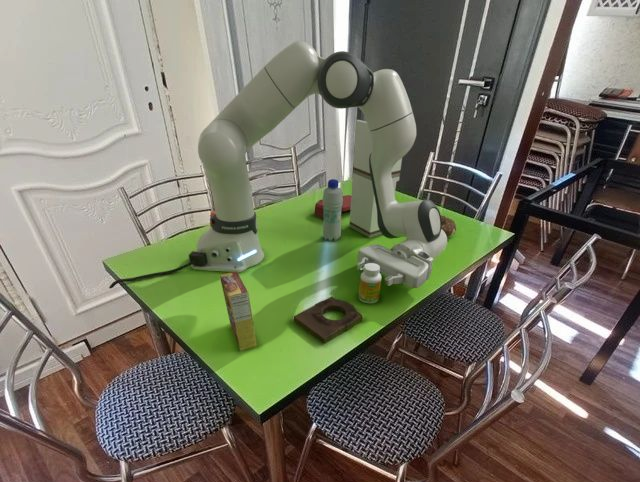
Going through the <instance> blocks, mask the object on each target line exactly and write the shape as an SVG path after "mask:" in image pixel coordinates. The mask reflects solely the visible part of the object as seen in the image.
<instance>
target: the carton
mask: <svg viewBox="0 0 640 482" xmlns="http://www.w3.org/2000/svg"><path fill="white" fill-rule="evenodd" d="M314 204H315V205H314V211H313V216H315V217H318V218H319V219H320V218H321V219H322V220H324V206H323V198H322V199H319V200H318V201H316V202H315V203H314ZM347 211H351V194H346V195H343V205H342V208H341V213H342V212H347Z"/></svg>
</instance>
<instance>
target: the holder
mask: <svg viewBox="0 0 640 482" xmlns="http://www.w3.org/2000/svg"><path fill="white" fill-rule="evenodd" d="M328 312H339V313H341V314H343V315H344V317H342V318H339V319H330V318H326V316H324V314H326V313H328ZM363 316H364V315H363V314H362V313H361V312H359V311H358V310H357V308H356V307H355V306H354V305H353V304H351V303H350V302H349V301H345V300H342V299H338V298H336V297H334V296H332V295H331V296H330V297H327V298H326V299H324V300H321V301H319V302H317V303H315V304H314V305H312V306H310V307H308V308H307V309H304V310H303V311H301V312H299V313H297V314H295V315H293V323H295V324H296V325H297V326H298V327H300V328H302V329H303V330H304V331H305V332H307V333H308V334H309V335H311V336H312V337H313V338H315V339H316V340H317V341H319V342H320V343H321V344H323V345H325V344H327V343H328V342H330V341H332V340H333V339H335V338H336V337H338V336H340V335H341V334H343V333H344V332H347V331H349V330H351V329H352V328H354V327H355V326H356V325H358V324H359V323H361V322H362V321H363Z"/></svg>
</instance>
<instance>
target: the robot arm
mask: <svg viewBox="0 0 640 482" xmlns="http://www.w3.org/2000/svg"><path fill="white" fill-rule="evenodd" d="M313 95H319V96H320V97H322V99H323V101H324V102H325V103H326V104H327V105H328V106H330V107H332V108H334V109H339V110H341V109H342V110H343V109H349V108H350V109H351V108H359V109H360V111H361V112H362V114H363V116H364V118H365V122H367V124H368V128H369V131H370V135H371V140H372V152H371V153H370V156H369V169H370V175H371V181H372V186H373V191H374V196H375V202H376V207H377V223H378V227H379V230H380V231H381V233H382V234H381V235H383V236H384V237H385V238H386V239H389V240H392V239H399V238H405V239H404V240H402V241H399V242H398V243H396V244H395V245H393V246H392V247H391V248H388V247H386V246H384V245H382V244H377V243H374V244H370V245H366V246H363V247H361V248H359V249H358V251H357V261H358V263H357V265H356V270H357V271H359V272H364V266H365V265H366V264H368V263H375V264H377V265H379V266H380V272H379V273H380V274H383V275H384V276H386V277H385V278H384V282H383V284H384V285H387V286H388V287H390V286H392V285H401V284H403V285H404V286H407V287H409V288H411V289H417V288H419V287H422V286H423V285H424V284H425V283H426V282H427V281H428V280H430V277H431V274H432V270H433V264H434V260H436V259H437V258H438V257H439V256H441V255H442V254H443V252H444V251H445V250H446V248H447V245H448V238H447V236H446V234H445V232H444V231H443V230H442V229H441V227H442V220H441V215H442V214H441V211H440V210H439V208H438V206H437V204H435V203H434V202H433V201H432V200H430V199H420V200H419V199H418V200H412V201H407V202H406V201H405V202H398V201H397V200H396V196H394V189H393V183H392V177H391V172H392V168H393V166H394V165H395V163H396V162H398V161H399V160H400V159H401V158H402V159H403V157H405V156H406V155H407V154H408V153H409V151H410V150H411V149H412V148H413V146H414V144H415V141H416V139H417V124H416V120H415V116H414V112H413V107H412V105H411V102H410V98H409V96H408V93H407V90H406V87H405V86H404V83H403V81H402V79H401V77H400V75H399V74H398V72H397V71H395V70H394V69H390V68H382V69H379V70H377V71H374V72H373V70H371V69H370V68H369V67H368V66H367V65H366V64H365V63H364V62H363V61H362V60H361V59H360V58H359V57H357V56H356V54H353V53H351V52H350V51H345V50H341V51H340V50H339V51H336V52H334V53H332V54H330V55H329V56H327V57H322V56H320V55H319V54H318V53H317V51H316V50H315V48H314V47H313V46H312V45H311V44H310V43H308V42H306V41H303V40H295V41H293V42H292V43H290V44H289V45H287V46H286V47H284V48H283V49H282V50H280V51H279V52H278V53H277V54H275V55H274V57H272V58H271V59H270V60H269V61H268V62H267V63H266V64H265V65H264V66H263V67H262V68H261V69H260V70H259V71H258V72H257V73H256V74H255V75H254V77H252V78H251V80H249V82H248V83H246V85H245V86H244V87H243V88H242V89H241V90H240V91H239V92H238V93H237V94H236V95H235V96H234V98H233V99H231V101H230V102H229V103H228V104H227V105H226V106H225V107H224V108H223V109H222V110H221V111H220V112H219V113H218V114H217V115H216V116H215V118H213V120H211V121H210V123H209V124H207V126H205V128H204V129H203V130H202V131H201V133H200V134H199V137H198V142H197V154H198V157H199V160H200V162H201V164H202V165H203V169H204V173H205V175H206V178H207V180H208V181H207V182H208V184H209V187H210V191H211V195H212V201H213V205H214V206H213V207H214V210H212V211H211V212H210V215H209V217H210V218H209V226H210V228H208V229H207V230H206V231H205V232H204V233H202V234H201V235H200V236H199V238H198V240H197V243H196V247H195V249H194V250H193V251H191V252H190V253H189V254H188V259H189V262H187V263H186V264H183V265H181V266H179V267H176V268H174V269H170V270H165V271H159V272H158V271H157V272H153V273H148V274H143V275H139V276H134V277H129V278H119V279H117V280H114V281H113V282H112V283H111V284H110V285H109V286H108V288H109V289H114V287H116V285H118V284H120V283H128V282H135V281H139V280H142V279H147V278H152V277H159V276H164V275H169V274H174V273H176V272H179V271H181V270H184V269H186V268H188V267H191V268H192V270H196V271H210V272H223V273H232V272H238V273H242V272H244V271H245V270H247V269H248V268H251V267H254V266H256V265H258V264H260V263H261V262H262V261H263V260H264V258H265V253H264V251H263V248H262V246H261V243H260V239H259V235H258V230H259V227H258V217H257V214H256V211H255V208H254V197H253V188H252V185H251V181H250V176H249V171H248V166H247V159H246V158H247V157H246V154H247V152H248V151H249V150H250V149H251V148H252V147H254V145H256V144H257V143H258V142H259V141H261V139H263V138H264V137H265V136H267V135H268V134H269V133H271V132H272V131H274V129H275V128H277V127H278V126H279V124H281V123H282V122H283V121H284V120H285V119H286V118H287V117H288V116H289V115H290V114H291V113H292V112H293V111H294V110H295V109H296V108H298V106H300V105H301V104H302V103H303V101H305V100H306V99H307V98H309V97H310V96H313Z"/></svg>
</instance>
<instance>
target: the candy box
mask: <svg viewBox="0 0 640 482" xmlns="http://www.w3.org/2000/svg"><path fill="white" fill-rule="evenodd" d="M219 279H220V284H221V288H222V292H223V297H224V301H225V306H226V310H227V315H228V319H229V325H230V328H231V331H232V334H233V336H234V338H235V340H236V343H237V346H238V349H239V351H241V352H243V351H245V350H249V349H252V348H256V347H257V346H258V345H257V339H256V332H255V325H254V320H253V319H254V318H253V313H252V312H253V311H252V307H251V301H250V300H251V299H250V295H249V291H248V289H247V287H246V285H245V284H244V282H243V281H242V278H241V276H240V275H239V272H226V273H224V274H220V275H219Z"/></svg>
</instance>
